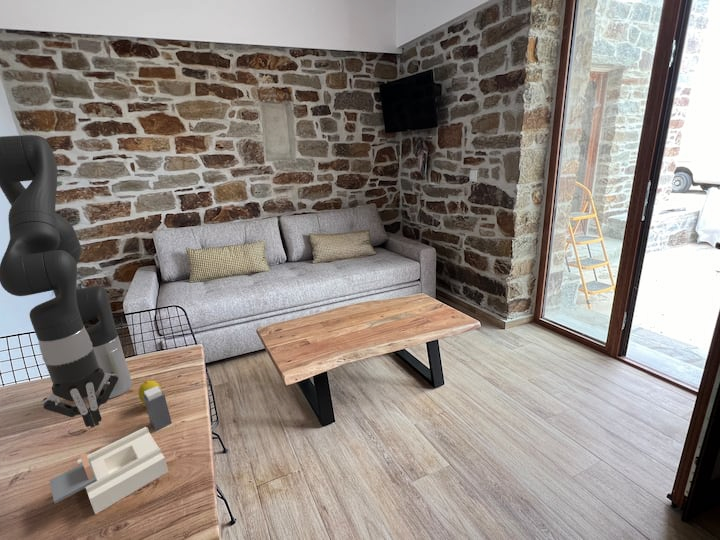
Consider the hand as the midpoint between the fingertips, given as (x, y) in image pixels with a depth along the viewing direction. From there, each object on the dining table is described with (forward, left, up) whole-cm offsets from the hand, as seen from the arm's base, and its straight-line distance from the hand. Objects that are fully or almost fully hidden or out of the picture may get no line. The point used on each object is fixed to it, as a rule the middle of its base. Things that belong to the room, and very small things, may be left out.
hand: (94, 424), depth 77 cm
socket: (0, +2, -15) cm, 15 cm away
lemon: (-21, +14, -15) cm, 30 cm away
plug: (-11, +13, -15) cm, 23 cm away
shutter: (0, -6, -11) cm, 12 cm away
